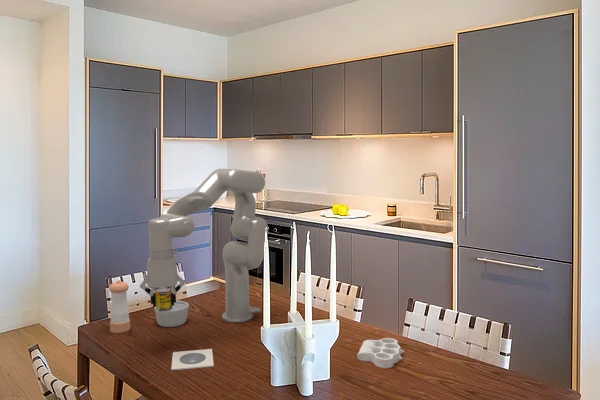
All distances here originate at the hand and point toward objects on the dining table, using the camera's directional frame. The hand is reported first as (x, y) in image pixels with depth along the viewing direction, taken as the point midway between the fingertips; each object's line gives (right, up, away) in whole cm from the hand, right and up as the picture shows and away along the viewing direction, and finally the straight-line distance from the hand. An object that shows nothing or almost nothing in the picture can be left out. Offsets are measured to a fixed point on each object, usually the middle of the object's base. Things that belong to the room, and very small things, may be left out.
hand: (163, 304), depth 166 cm
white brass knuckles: (+75, -17, -6) cm, 77 cm away
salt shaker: (-21, -13, +17) cm, 30 cm away
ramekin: (-4, -13, +25) cm, 28 cm away
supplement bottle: (0, -2, 0) cm, 2 cm away
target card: (+12, -16, -9) cm, 22 cm away
